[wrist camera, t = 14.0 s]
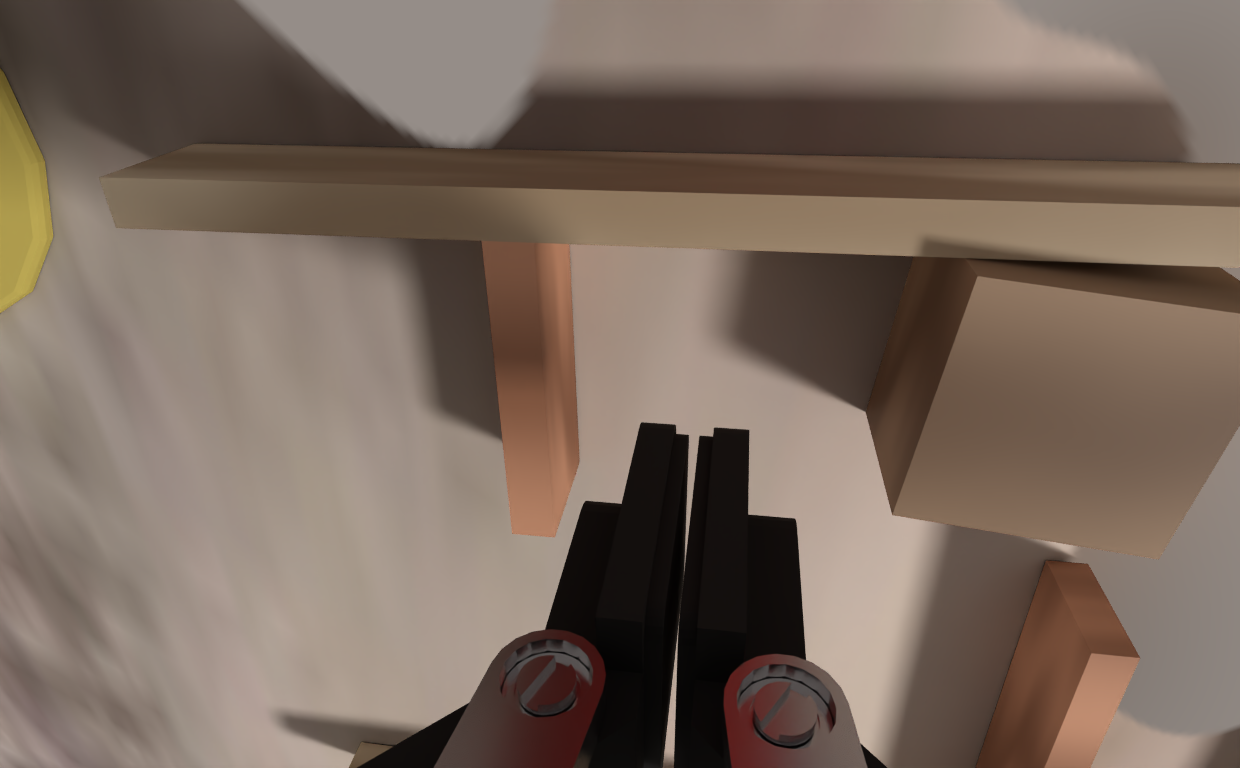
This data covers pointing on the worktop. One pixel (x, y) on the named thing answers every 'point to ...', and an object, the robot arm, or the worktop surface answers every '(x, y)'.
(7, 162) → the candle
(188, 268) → the worktop surface
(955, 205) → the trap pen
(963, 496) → the block
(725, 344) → the worktop surface
